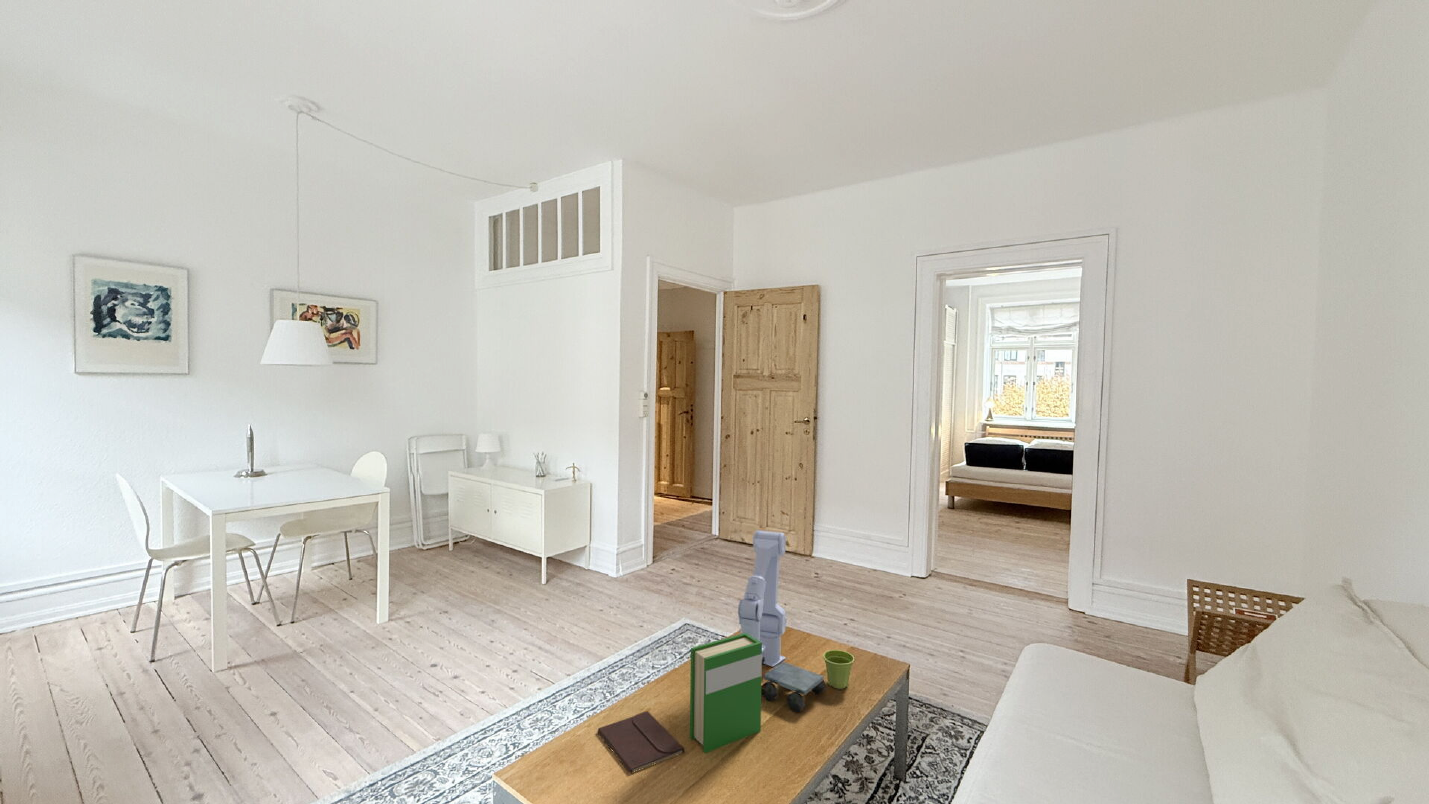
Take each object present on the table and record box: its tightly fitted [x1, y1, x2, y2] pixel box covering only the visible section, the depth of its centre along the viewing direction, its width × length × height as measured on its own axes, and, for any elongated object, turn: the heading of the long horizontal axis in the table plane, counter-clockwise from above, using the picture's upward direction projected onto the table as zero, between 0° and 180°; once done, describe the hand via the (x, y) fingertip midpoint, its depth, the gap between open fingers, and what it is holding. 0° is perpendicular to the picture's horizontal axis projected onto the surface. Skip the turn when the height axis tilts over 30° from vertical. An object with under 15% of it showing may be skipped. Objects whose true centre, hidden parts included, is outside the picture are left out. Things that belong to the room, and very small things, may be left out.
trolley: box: [761, 661, 827, 713], centre depth 176 cm, size 14×14×6 cm
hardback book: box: [689, 633, 763, 754], centre depth 156 cm, size 18×7×24 cm, turn 124°
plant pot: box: [822, 649, 855, 690], centre depth 183 cm, size 9×9×9 cm
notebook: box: [597, 710, 685, 774], centre depth 153 cm, size 15×20×2 cm
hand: (749, 683), depth 178 cm, fingers closed on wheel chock, 4 cm apart
